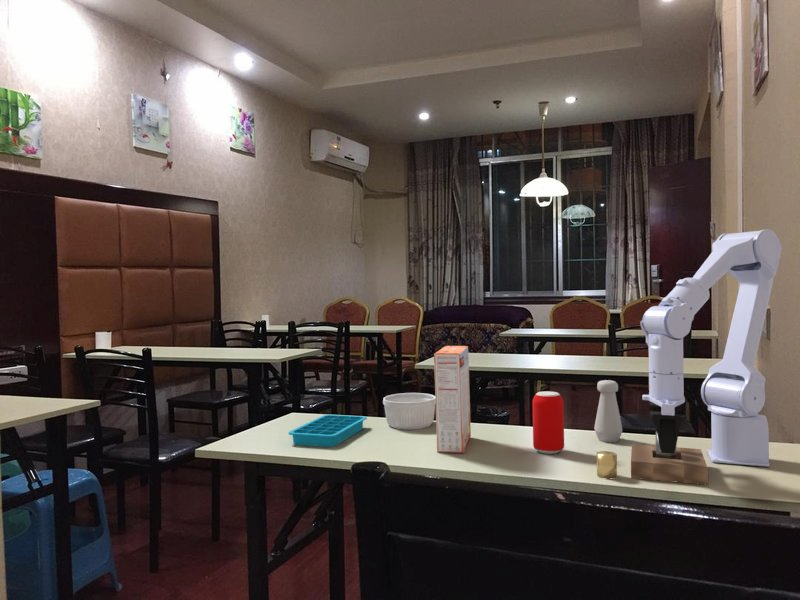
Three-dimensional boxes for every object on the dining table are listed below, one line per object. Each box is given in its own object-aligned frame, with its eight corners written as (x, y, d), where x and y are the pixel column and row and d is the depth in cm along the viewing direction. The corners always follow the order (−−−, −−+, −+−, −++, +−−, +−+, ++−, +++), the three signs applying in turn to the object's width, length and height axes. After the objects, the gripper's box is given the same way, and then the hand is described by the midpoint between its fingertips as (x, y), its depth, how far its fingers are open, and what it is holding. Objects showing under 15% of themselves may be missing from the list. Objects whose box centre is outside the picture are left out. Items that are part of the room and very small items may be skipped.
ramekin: (384, 432, 142) (383, 403, 142) (382, 420, 155) (382, 393, 155) (439, 430, 143) (438, 401, 143) (433, 418, 156) (433, 391, 156)
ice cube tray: (368, 428, 147) (368, 416, 147) (334, 450, 128) (333, 436, 128) (325, 426, 151) (325, 414, 151) (286, 446, 132) (285, 433, 132)
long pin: (676, 469, 109) (676, 431, 109) (676, 475, 106) (676, 436, 106) (656, 467, 110) (656, 430, 110) (655, 473, 107) (655, 434, 107)
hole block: (700, 465, 111) (700, 449, 111) (707, 485, 100) (707, 467, 100) (632, 459, 116) (631, 444, 116) (631, 478, 105) (630, 461, 105)
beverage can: (535, 446, 127) (534, 390, 126) (565, 448, 125) (564, 391, 124) (531, 454, 121) (530, 395, 121) (563, 456, 119) (562, 396, 119)
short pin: (617, 474, 107) (617, 452, 107) (616, 480, 104) (616, 457, 104) (597, 472, 108) (597, 450, 108) (596, 478, 105) (596, 455, 105)
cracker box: (445, 436, 137) (443, 345, 136) (471, 437, 135) (469, 345, 135) (434, 453, 123) (432, 352, 123) (463, 454, 122) (461, 352, 121)
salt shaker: (624, 443, 127) (623, 383, 127) (596, 442, 128) (595, 382, 128) (619, 437, 133) (619, 378, 133) (593, 436, 134) (592, 378, 134)
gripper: (641, 366, 116) (642, 435, 116) (642, 377, 102) (643, 455, 103) (682, 367, 113) (682, 438, 113) (687, 378, 100) (688, 459, 100)
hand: (666, 447), depth 108 cm, fingers open, 7 cm apart
